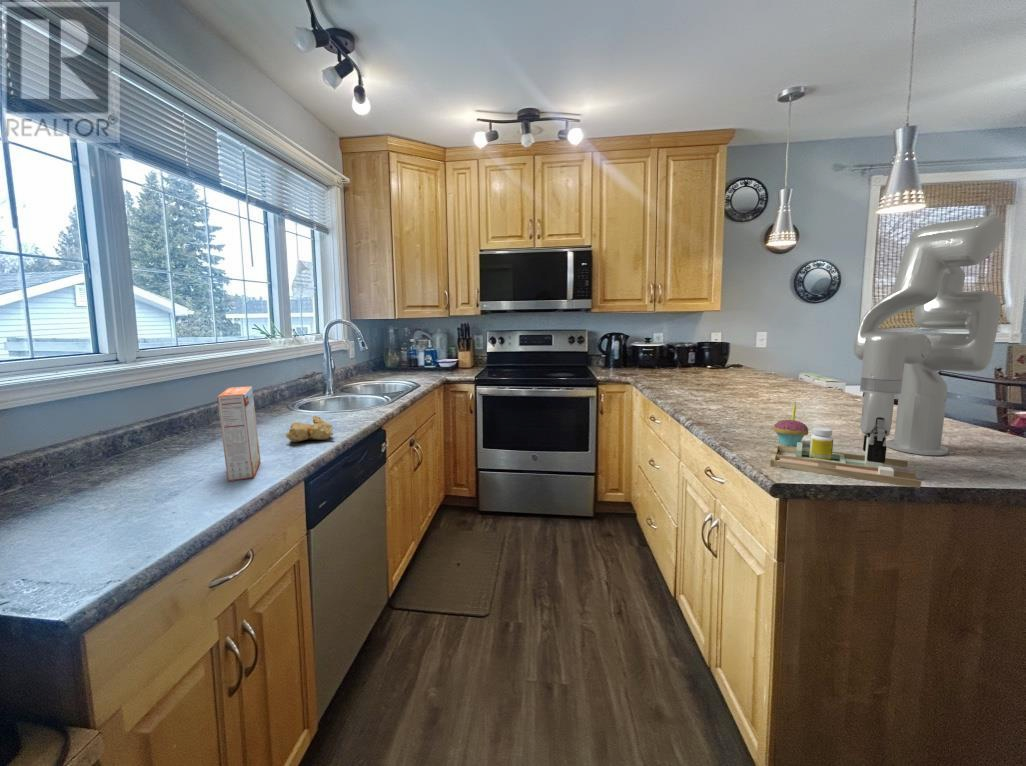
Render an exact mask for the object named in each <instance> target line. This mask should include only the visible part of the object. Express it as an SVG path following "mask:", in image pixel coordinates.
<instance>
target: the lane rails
mask: <svg viewBox="0 0 1026 766" xmlns="http://www.w3.org/2000/svg"><path fill="white" fill-rule="evenodd" d="M796 448H797V446H786V445H782V444H781V445H780V444H775V445H774V447H773V451H772V454H771V458H770V461H769V462H770V463H769V464H770V465H771V466H770V465H769V466H770V467H772V466H779V467H785V468H784V469H786V468H790V469H789V470H793V469H795V470H794V471H800V470H801V471H802V472H808V473H815V474H821V475H829V476H836V477H843V478H849V479H856V480H864V481H870V482H871V481H872V482H875V483H876V482H878V483H883V484H890V485H897V486H898V485H899V486H904V487H905V486H906V487H912V488H918V489H920V488H921V486H922V480H921V479H916V477H917V473H916V472H913V471H904V470H898V469H893V470H894V476H886V475H878V474H871V473H864V472H857V471H849V470H842V469H836V466H843V467H851V468H858V469H866V470H873V471H878V468H876V467H868V466H861V465H853V464H845V463H838V462H830V461H823V460H815V459H807V458H800V457H796V456H792V455H791V456H790V455H784V454H778V453H777V452H779V451H778V450H781V451H780V452H783V451H789V452H788V453H790V452H794V453H793V454H796ZM802 449H804V450H810V448H806V447H805V448H804V447H802ZM832 453H837V454H844V457H845V458H846V459H854V460H862V461H865V454H855V453H846V452H840V451H839V452H838V451H832ZM780 458H784V459H791V460H799V461H806V462H814V463H818V466H813V465H806V464H798V463H791V462H784V461H777V460H780ZM882 465H884V466H885V465H886V466H892V467H893V466H894V467H902V468H908V465H909V461H908V460H904V459H897V458H888V457H887V458H886V457H885V463H882ZM779 467H778V468H779Z"/></svg>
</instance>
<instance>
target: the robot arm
mask: <svg viewBox="0 0 1026 766" xmlns="http://www.w3.org/2000/svg"><path fill="white" fill-rule="evenodd" d="M1005 231H1006V230H1005V224H1004V221H1003V220H1002V219H1001V218H999V217H997V216H995V215H994V216H993V215H992V216H990V215H989V216H978V217H973V218H965V219H959V220H952V221H950V220H949V221H943V222H939V223H933V224H928V225H925V226H921V227H918V228H917V229H915V230H914V231H913V232H912V233H911V235H910V238H909V239H910V240H909V242H908V243H907V244H906V246H905V249H904V252H903V254H902V258H901V261H900V264H899V268H898V271H897V275H896V278H895V281H894V284H893V288H892V290H891V292H890V293H889V294H888V295H886V296H884V297H883V298H882V299H880V300H878V301H877V302H876V303H875V304H874V305H873V306H872V307H871V308H869V310H867V312H866V313H865V314H864V315H863V317H862V319H861V320H860V322H859V326H858V329H857V332H856V335H855V339H854V342H853V343H854V344H853V353H854V355H855V357H856V358H857V359H858V360H861V361H862V367H861V377H860V387H859V391H860V392H862V393H863V394H864V395H863V401H862V409H861V416H860V422H859V427H860V431H861V432H862V434H864V436H863V443H862V444H863V446H862V451H863V452H865V451H866V441H867V437H870V444H868V454H867V460H868V461H870V462H878V463H885V458H886V456H887V448H890V449H893V450H895V451H899V452H904V453H908V454H909V453H910V454H916V455H923V456H944V455H948V454H949V449H948V447H947V446H944V445H942V439H943V430H944V421H945V420H944V419H945V416H946V415H945V414H946V413H945V412H946V407H947V405H946V404H947V399H948V397H947V396H948V385H947V383H946V381H945V379H944V378H943V377H942V375H941V374H940V373H939V372H938V371H949V372H950V371H951V372H954V371H955V372H968V373H969V372H972V373H974V372H975V373H976V372H981V371H983V370H986V368H988V367H989V364H990V363H991V360H992V356H993V352H994V348H995V343H996V337H997V333H998V328H999V323H1000V319H1001V318H1000V317H1001V311H1002V305H1001V300H1000V297H999V296H998V295H997V294H996V293H994V292H992V291H988V290H987V291H986V290H975V291H974V290H972V291H963V289H964V283H965V280H966V279H965V278H966V273H965V271H964V270H963V268H962V267H970V266H976V265H978V264H980V263H982V262H983V261H985V260H986V259H987V258H988V257H989V256H990V255H991V254H992V253H993V252H994V251H996V250H997V248H998V247H999V246H1000V244H1001V243H1002V242H1003V238H1004V236H1005ZM912 309H914V313H913V322H914V324H915V325H916V326H917V327H919V328H923V329H929V330H931V329H932V330H967V331H968V333H952V332H951V333H947V332H913V331H910V332H908V331H905V332H904V331H901V332H900V331H877V330H878V329H879V328H880V327H881V325H882V324H883V323H884V322H886V321H887V320H888V319H890V318H892V317H894V316H896V315H899V314H901V313H904V312H907V311H910V310H912ZM895 395H896V396H897V395H898V398H897V399H898V400H897V409H896V417H895V427H894V436H893V438H892V439H888V440H887V437H888V436H890V434H891V429H892V422H893V416H894V415H893V414H894V404H895Z"/></svg>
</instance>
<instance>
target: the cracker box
mask: <svg viewBox="0 0 1026 766" xmlns="http://www.w3.org/2000/svg"><path fill="white" fill-rule="evenodd" d="M216 399H217V407H218V414H219V415H218V416H219V421H220V431H221V437H222V439H221V440H222V446H223V447H222V448H223V452H224V453H223V454H224V462H225V469H226V478H227V482H235V481H241V480H246V479H247V480H248V479H254V478H255V477H256V473H257V471H258V468H259V466H260V464H261V452H260V444H259V436H258V426H257V417H256V410H255V408H256V406H255V400H254V390H253V386H232V387H229V388H228V387H227V388H226V389H225V390H224V391H223V392H221V393H220V394H219V395H217V397H216Z"/></svg>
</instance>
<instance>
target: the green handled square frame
mask: <svg viewBox="0 0 1026 766" xmlns="http://www.w3.org/2000/svg"><path fill="white" fill-rule="evenodd" d="M868 444H870V437H867V441H866V451H864V452H865V453H864V456H865V461H862V460H854V459H846V458H845V457H844V454H837V453H832V461H831V460H823V459H816V458H809V452H810V450H804V449H802V448H803V442H802V441H801V442H797V446H796V447H797V448H796V453H795V457H800V458H807V459H815V460H823V461H830V462H838V463H845V464H853V465H861V466H868V467H876V468H878V466H883V464H882V463H878V462H870V461H868V460H867V454H868ZM806 456H808V457H806ZM834 459H835V460H834Z"/></svg>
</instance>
